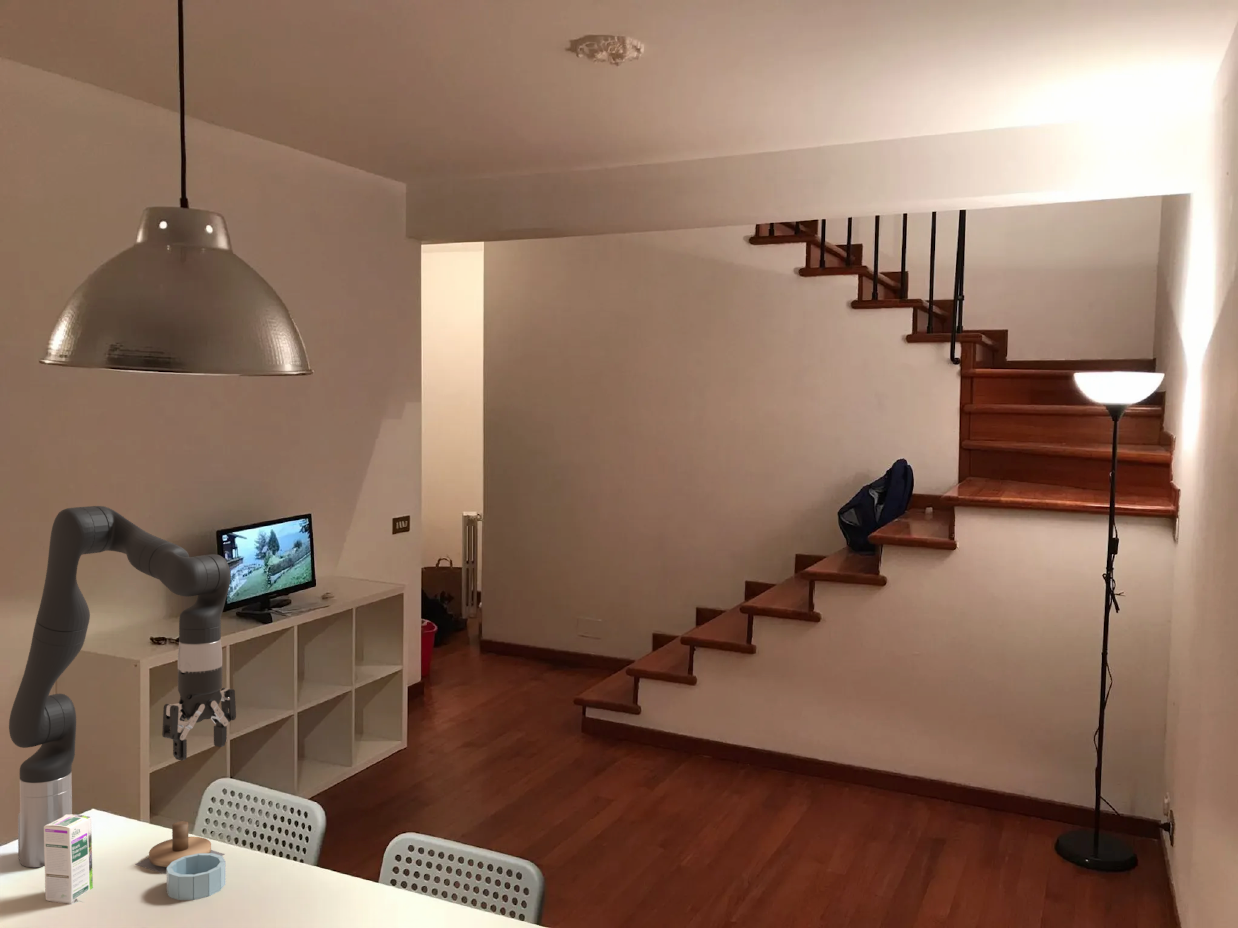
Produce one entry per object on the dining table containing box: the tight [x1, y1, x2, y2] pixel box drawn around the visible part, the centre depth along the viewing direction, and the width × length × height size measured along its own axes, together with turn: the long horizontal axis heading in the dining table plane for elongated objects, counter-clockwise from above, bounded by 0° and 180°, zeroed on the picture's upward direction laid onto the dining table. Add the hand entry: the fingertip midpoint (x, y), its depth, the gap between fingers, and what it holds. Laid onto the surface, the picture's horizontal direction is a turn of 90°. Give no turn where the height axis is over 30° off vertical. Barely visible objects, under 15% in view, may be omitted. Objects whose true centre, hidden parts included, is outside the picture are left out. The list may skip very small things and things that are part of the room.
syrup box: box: [44, 814, 94, 905], centre depth 189 cm, size 6×6×14 cm
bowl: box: [166, 853, 226, 901], centre depth 192 cm, size 10×10×5 cm
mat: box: [134, 849, 226, 875], centre depth 204 cm, size 12×12×1 cm
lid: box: [148, 820, 212, 867], centre depth 204 cm, size 12×12×7 cm
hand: (200, 752), depth 183 cm, fingers open, 8 cm apart
